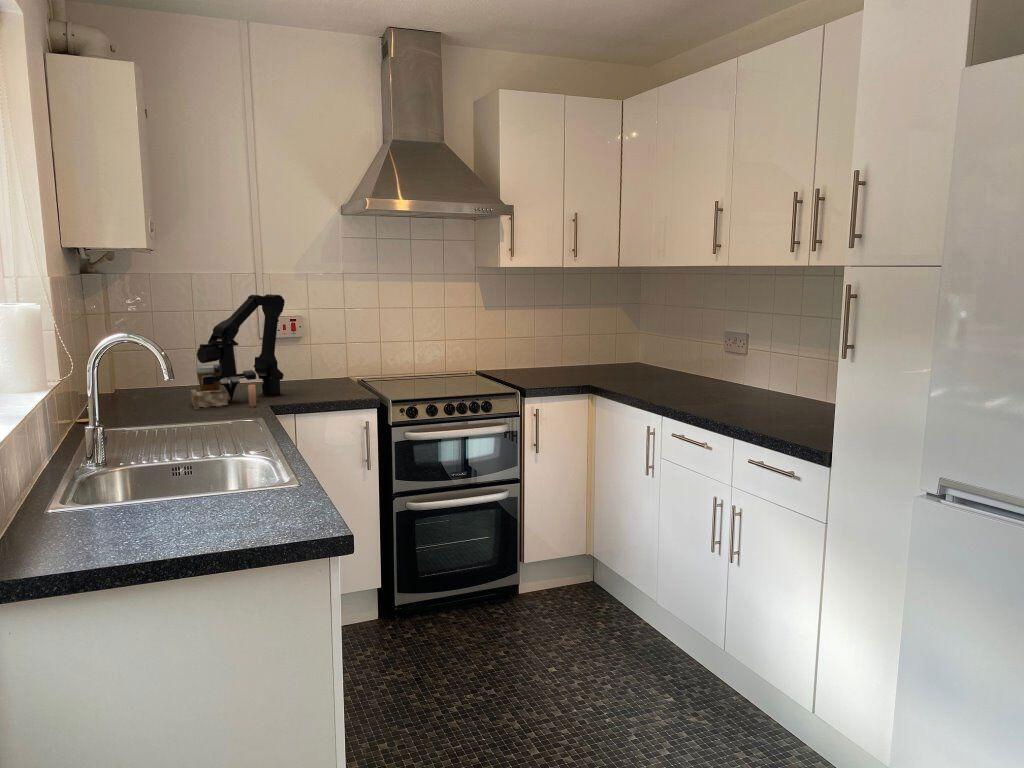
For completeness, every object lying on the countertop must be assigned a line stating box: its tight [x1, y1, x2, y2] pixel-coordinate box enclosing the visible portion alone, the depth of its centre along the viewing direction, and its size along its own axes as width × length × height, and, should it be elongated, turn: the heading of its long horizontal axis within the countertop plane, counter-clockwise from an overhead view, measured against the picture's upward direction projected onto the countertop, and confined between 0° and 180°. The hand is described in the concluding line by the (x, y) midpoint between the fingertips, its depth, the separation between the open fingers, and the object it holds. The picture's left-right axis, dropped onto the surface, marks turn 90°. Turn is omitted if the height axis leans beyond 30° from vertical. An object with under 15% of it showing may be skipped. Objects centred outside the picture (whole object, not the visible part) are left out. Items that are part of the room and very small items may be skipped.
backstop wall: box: [190, 389, 200, 410], centre depth 277 cm, size 2×13×5 cm, turn 27°
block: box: [196, 389, 229, 408], centre depth 280 cm, size 10×8×4 cm
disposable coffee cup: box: [195, 364, 221, 392], centre depth 295 cm, size 10×10×12 cm
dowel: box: [247, 384, 257, 408], centre depth 276 cm, size 3×3×8 cm
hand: (231, 400), depth 283 cm, fingers closed
